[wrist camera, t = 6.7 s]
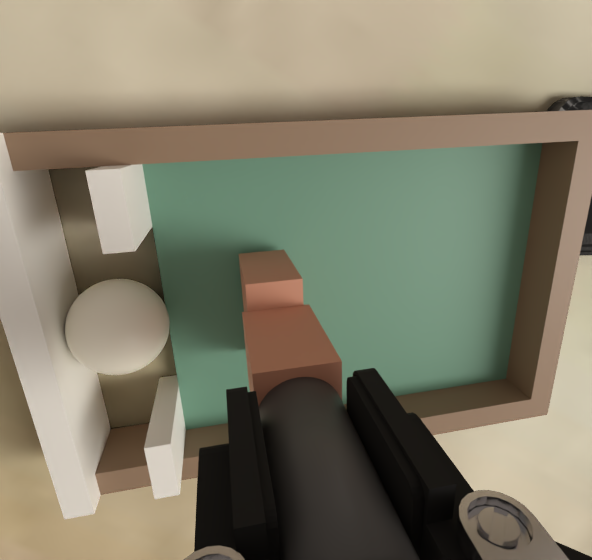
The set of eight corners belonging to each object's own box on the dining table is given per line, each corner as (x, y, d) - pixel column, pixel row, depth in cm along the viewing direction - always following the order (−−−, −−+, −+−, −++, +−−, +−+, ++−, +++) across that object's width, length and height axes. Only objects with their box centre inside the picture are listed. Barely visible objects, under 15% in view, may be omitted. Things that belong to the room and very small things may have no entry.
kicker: (293, 348, 20) (421, 685, 8) (243, 355, 19) (295, 722, 7) (288, 249, 18) (443, 477, 6) (233, 254, 18) (279, 509, 5)
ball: (113, 343, 20) (190, 347, 19) (55, 392, 16) (147, 398, 15) (96, 265, 18) (178, 266, 18) (28, 299, 15) (128, 302, 14)
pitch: (509, 383, 25) (577, 439, 20) (90, 451, 21) (56, 541, 16) (553, 113, 20) (657, 105, 15) (5, 134, 16) (-81, 133, 11)
